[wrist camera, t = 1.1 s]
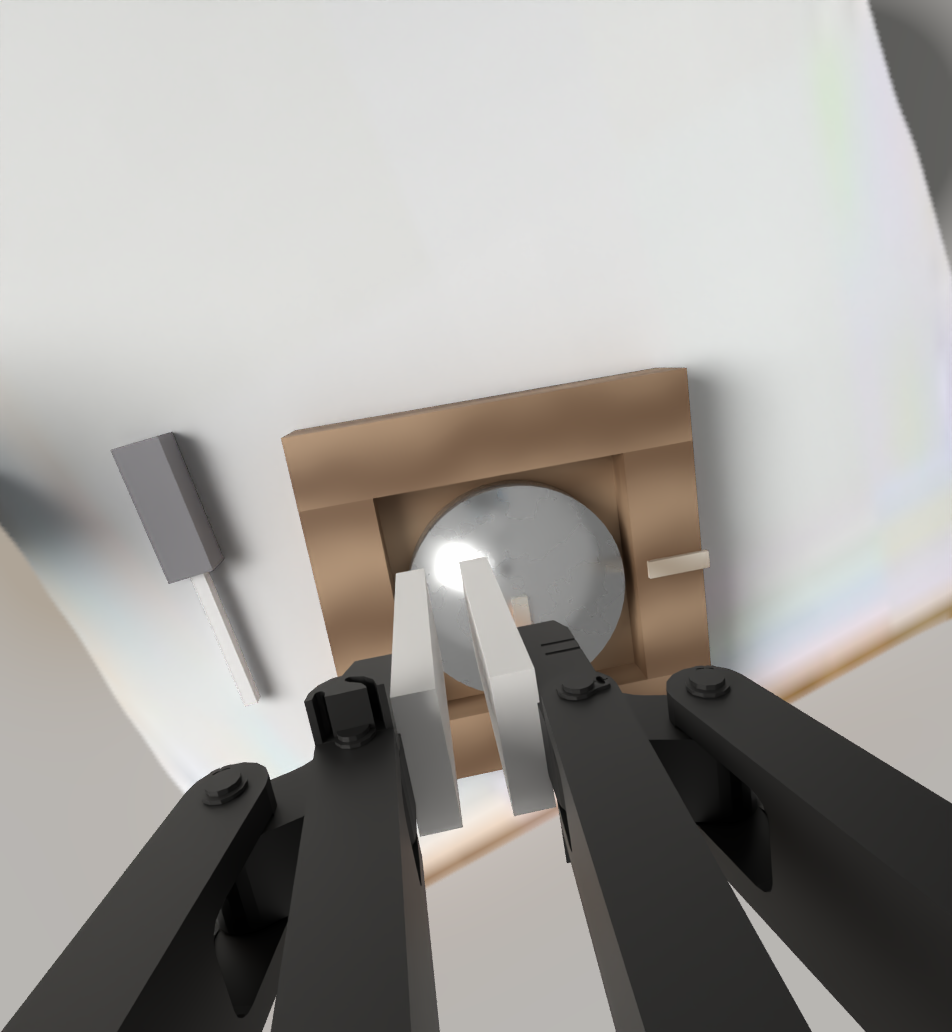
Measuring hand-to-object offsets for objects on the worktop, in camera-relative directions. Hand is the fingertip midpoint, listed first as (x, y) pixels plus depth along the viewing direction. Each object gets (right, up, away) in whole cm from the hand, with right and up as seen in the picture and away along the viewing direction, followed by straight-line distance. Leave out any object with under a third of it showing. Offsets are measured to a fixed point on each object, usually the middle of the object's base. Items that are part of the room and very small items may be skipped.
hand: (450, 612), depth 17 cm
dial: (+3, -1, +21) cm, 22 cm away
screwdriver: (-16, -1, +22) cm, 27 cm away
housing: (+3, -1, +24) cm, 24 cm away
